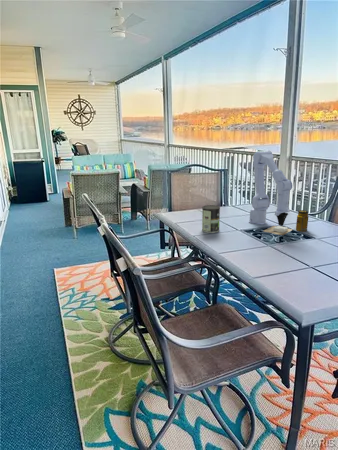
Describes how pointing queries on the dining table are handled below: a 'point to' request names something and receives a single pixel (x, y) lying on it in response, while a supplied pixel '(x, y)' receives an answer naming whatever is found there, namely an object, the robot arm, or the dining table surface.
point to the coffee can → (210, 218)
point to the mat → (276, 231)
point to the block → (280, 229)
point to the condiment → (302, 221)
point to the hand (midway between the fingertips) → (280, 225)
